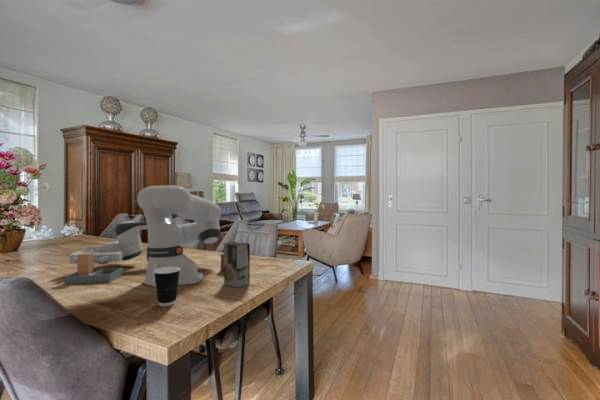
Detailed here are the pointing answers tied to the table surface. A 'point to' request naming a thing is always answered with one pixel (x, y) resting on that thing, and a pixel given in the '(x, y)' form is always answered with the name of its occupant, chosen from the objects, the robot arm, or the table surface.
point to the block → (85, 263)
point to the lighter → (222, 261)
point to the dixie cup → (166, 284)
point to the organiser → (95, 276)
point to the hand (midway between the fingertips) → (87, 260)
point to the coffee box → (237, 264)
